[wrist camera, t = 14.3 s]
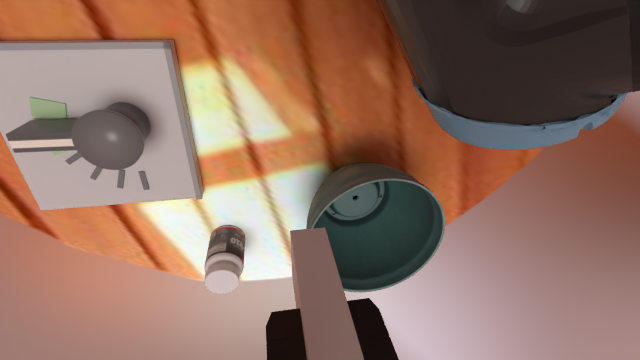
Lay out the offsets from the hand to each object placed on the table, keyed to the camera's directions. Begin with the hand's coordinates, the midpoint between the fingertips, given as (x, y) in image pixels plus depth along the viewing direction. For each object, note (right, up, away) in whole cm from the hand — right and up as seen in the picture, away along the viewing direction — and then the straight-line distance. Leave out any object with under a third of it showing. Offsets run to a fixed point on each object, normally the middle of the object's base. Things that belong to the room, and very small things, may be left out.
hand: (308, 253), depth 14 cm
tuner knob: (-23, +9, +19) cm, 31 cm away
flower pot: (+5, +2, +31) cm, 32 cm away
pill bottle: (-13, -5, +32) cm, 34 cm away
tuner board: (-23, +9, +21) cm, 33 cm away
